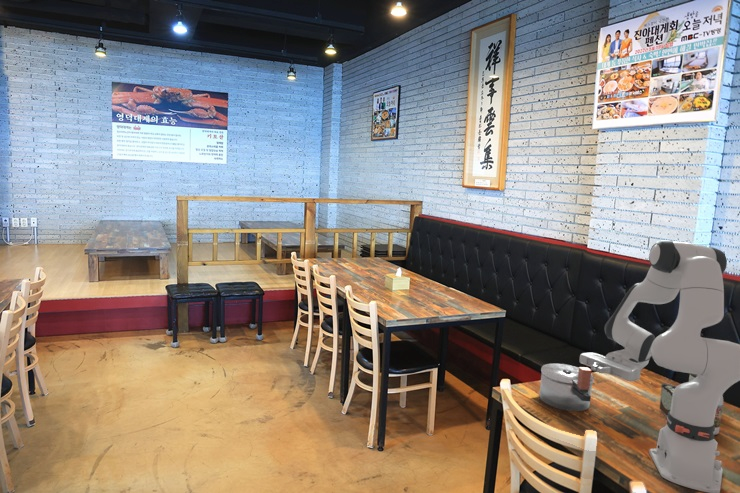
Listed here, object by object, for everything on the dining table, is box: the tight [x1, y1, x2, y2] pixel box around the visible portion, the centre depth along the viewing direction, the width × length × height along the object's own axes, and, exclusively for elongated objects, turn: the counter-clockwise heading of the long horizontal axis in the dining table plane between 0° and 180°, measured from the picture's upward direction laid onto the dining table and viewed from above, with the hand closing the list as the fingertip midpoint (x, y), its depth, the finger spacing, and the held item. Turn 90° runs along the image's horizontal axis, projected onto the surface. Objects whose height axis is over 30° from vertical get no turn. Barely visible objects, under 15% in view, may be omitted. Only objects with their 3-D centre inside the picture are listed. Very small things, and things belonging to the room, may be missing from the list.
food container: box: [659, 382, 678, 418], centre depth 180 cm, size 12×6×10 cm, turn 168°
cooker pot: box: [538, 373, 593, 412], centre depth 184 cm, size 27×18×10 cm
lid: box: [540, 363, 595, 393], centre depth 182 cm, size 25×19×8 cm
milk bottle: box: [714, 394, 724, 436], centre depth 169 cm, size 8×8×20 cm
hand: (595, 369), depth 174 cm, fingers closed
